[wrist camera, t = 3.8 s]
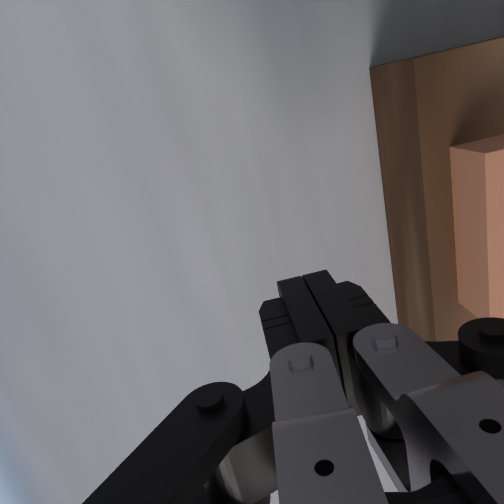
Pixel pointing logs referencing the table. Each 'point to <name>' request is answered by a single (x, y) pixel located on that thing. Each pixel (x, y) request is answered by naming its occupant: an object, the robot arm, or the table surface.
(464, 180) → the salmon pink rectangular block
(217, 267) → the table surface
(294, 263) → the table surface
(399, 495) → the robot arm
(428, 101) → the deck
